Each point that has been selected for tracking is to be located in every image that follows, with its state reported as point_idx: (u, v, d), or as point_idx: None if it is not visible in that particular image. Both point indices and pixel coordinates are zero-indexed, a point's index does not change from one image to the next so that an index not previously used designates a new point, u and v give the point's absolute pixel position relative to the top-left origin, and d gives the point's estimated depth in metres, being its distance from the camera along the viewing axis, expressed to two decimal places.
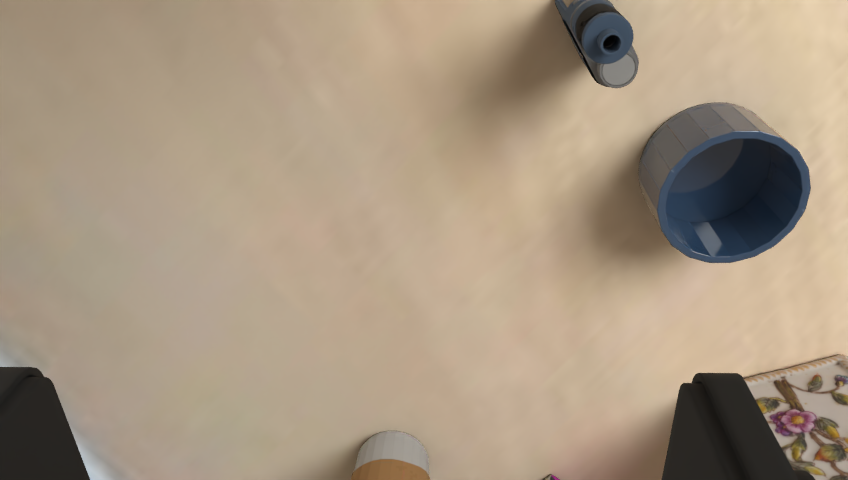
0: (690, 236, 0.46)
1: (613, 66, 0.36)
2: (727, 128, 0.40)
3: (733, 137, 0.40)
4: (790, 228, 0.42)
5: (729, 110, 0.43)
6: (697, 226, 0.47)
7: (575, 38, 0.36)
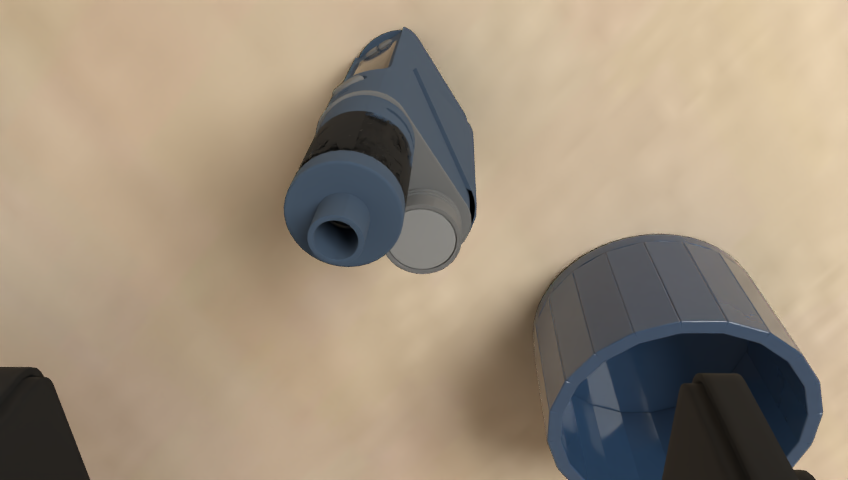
0: (616, 454, 0.27)
1: (409, 234, 0.17)
2: (668, 310, 0.21)
3: (678, 331, 0.21)
4: None
5: (677, 257, 0.24)
6: (632, 424, 0.29)
7: None
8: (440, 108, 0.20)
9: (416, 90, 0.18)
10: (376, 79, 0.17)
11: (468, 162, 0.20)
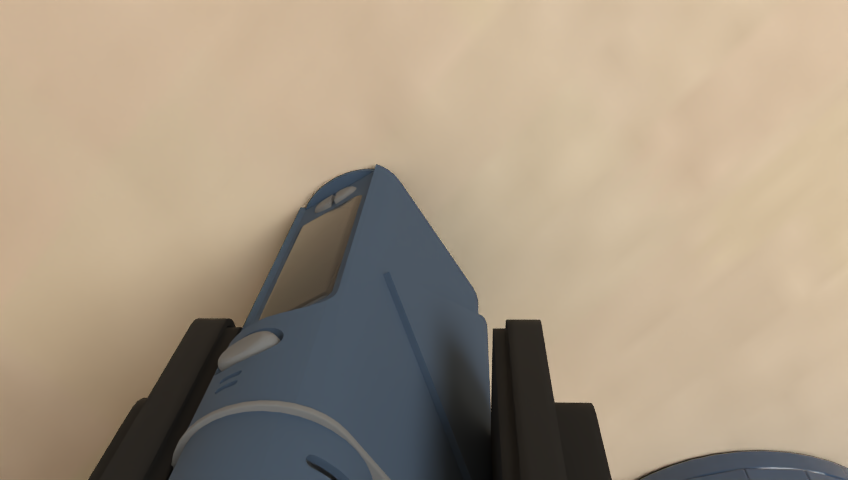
0: None
1: None
2: None
3: None
4: None
5: None
6: None
7: None
8: (432, 335, 0.11)
9: (386, 328, 0.10)
10: (300, 347, 0.08)
11: (481, 433, 0.11)
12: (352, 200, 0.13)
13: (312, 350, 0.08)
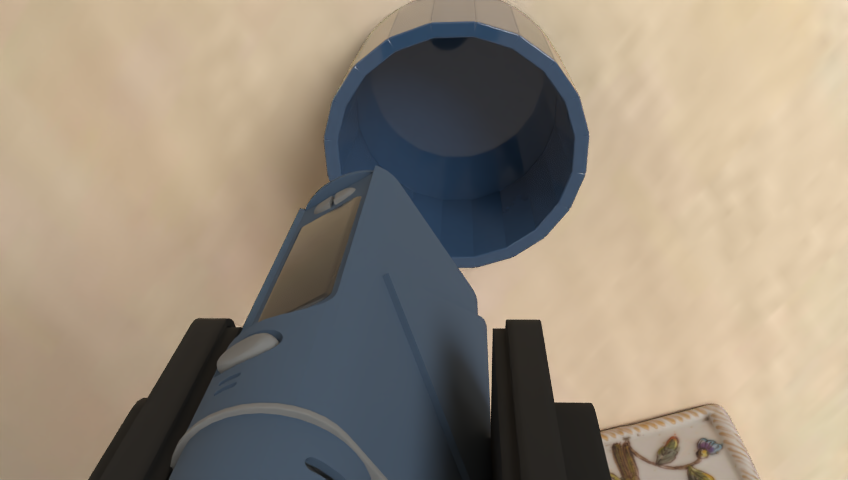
0: None
1: None
2: (425, 20, 0.22)
3: (430, 35, 0.21)
4: (565, 207, 0.24)
5: None
6: (450, 207, 0.29)
7: None
8: (431, 337, 0.11)
9: (385, 329, 0.10)
10: (299, 349, 0.08)
11: (480, 435, 0.11)
12: (351, 201, 0.13)
13: (311, 352, 0.08)
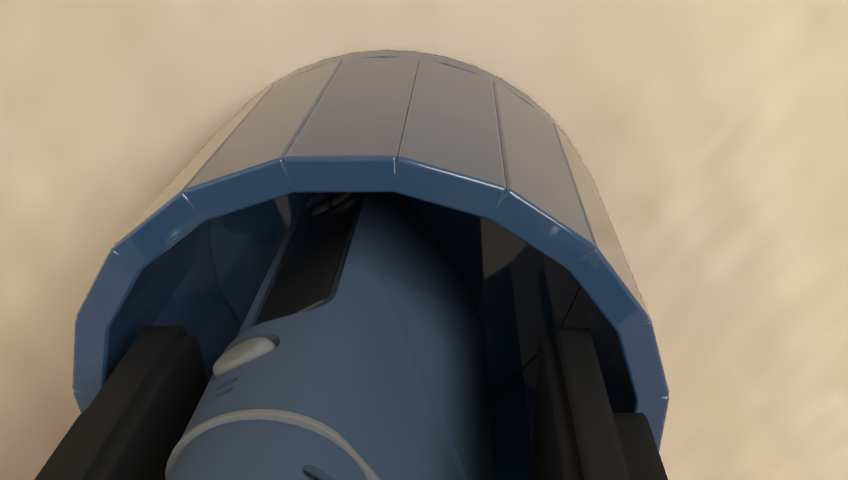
0: None
1: None
2: (279, 143, 0.09)
3: (283, 186, 0.08)
4: None
5: (388, 73, 0.12)
6: None
7: None
8: (431, 340, 0.11)
9: (384, 333, 0.10)
10: (296, 353, 0.08)
11: (480, 439, 0.11)
12: (350, 202, 0.13)
13: (309, 356, 0.08)
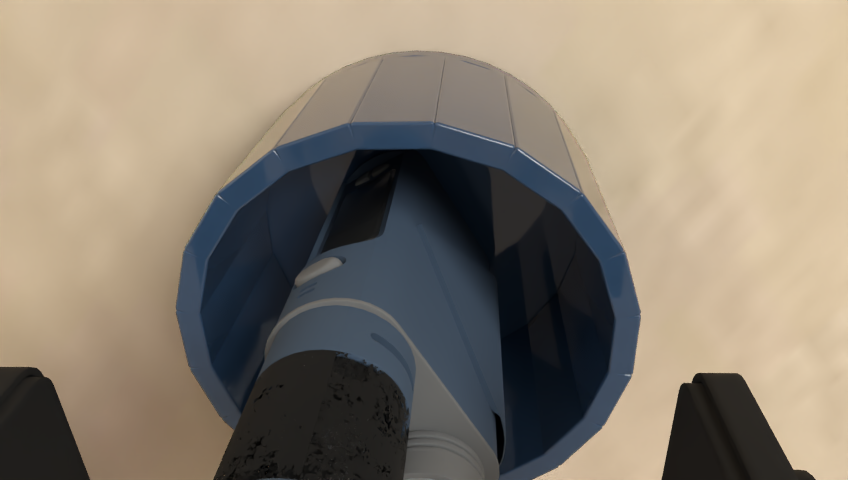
0: None
1: None
2: (344, 114, 0.12)
3: (350, 144, 0.11)
4: (595, 424, 0.14)
5: (421, 67, 0.15)
6: None
7: None
8: (454, 277, 0.14)
9: (420, 264, 0.13)
10: (359, 267, 0.11)
11: (493, 355, 0.14)
12: (388, 173, 0.15)
13: (368, 269, 0.11)
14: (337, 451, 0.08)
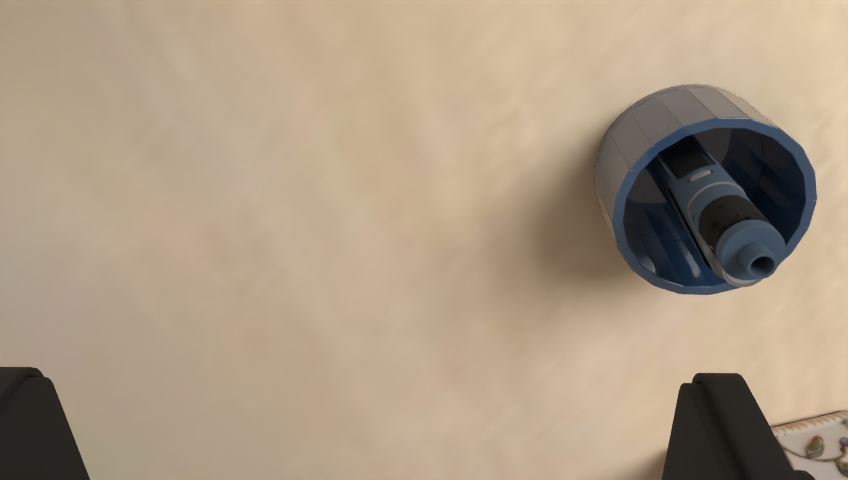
0: (658, 258, 0.35)
1: None
2: (706, 114, 0.30)
3: (714, 126, 0.29)
4: (788, 251, 0.32)
5: (710, 93, 0.32)
6: (668, 245, 0.37)
7: (692, 225, 0.29)
8: None
9: None
10: (720, 173, 0.29)
11: None
12: (686, 141, 0.33)
13: (724, 174, 0.29)
14: (762, 216, 0.26)
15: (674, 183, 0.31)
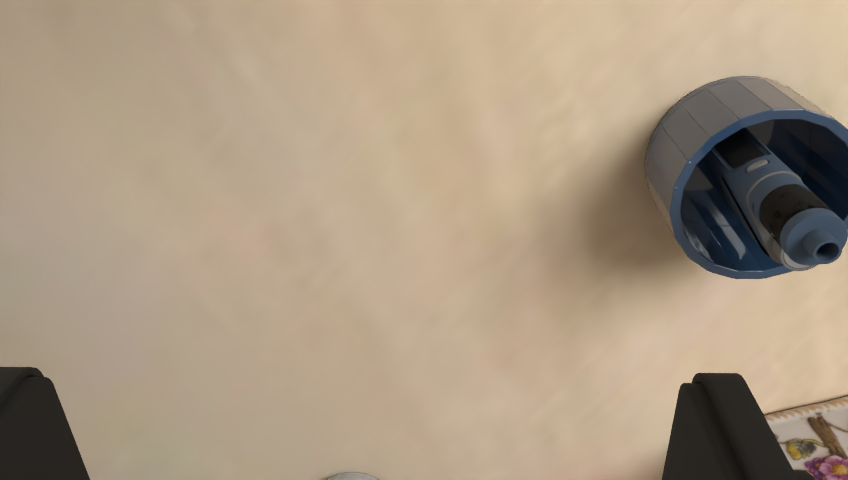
0: (710, 245, 0.36)
1: None
2: (761, 106, 0.31)
3: (770, 117, 0.31)
4: None
5: (761, 85, 0.34)
6: (718, 232, 0.38)
7: (751, 213, 0.30)
8: None
9: None
10: (777, 162, 0.30)
11: None
12: (737, 131, 0.35)
13: (780, 163, 0.30)
14: None
15: (730, 173, 0.32)
